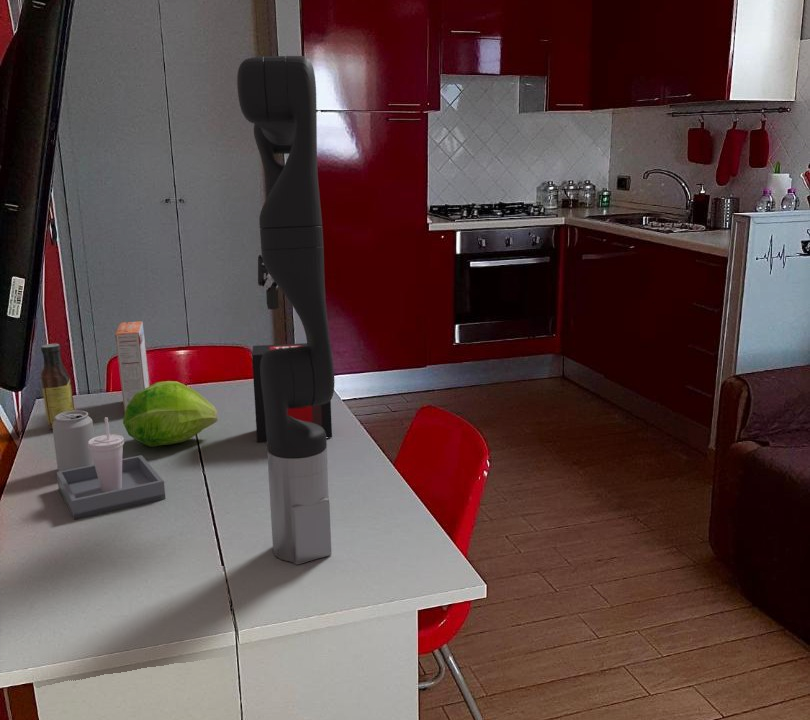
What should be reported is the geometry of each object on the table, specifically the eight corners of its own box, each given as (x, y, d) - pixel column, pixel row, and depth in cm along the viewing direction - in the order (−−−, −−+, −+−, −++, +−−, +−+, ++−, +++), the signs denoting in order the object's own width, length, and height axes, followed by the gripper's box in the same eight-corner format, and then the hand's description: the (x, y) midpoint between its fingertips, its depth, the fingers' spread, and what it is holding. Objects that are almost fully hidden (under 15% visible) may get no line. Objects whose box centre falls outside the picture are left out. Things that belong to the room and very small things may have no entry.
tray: (165, 498, 150) (163, 481, 149) (74, 519, 142) (72, 501, 141) (143, 471, 163) (141, 455, 162) (58, 488, 155) (56, 471, 154)
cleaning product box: (329, 425, 190) (326, 342, 185) (332, 437, 181) (328, 351, 176) (258, 429, 187) (253, 345, 182) (257, 442, 179) (251, 355, 174)
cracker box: (127, 400, 211) (119, 321, 206) (151, 398, 213) (144, 320, 207) (122, 416, 198) (113, 333, 193) (148, 414, 199) (140, 331, 194)
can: (84, 478, 160) (77, 421, 157) (50, 476, 161) (42, 419, 158) (105, 464, 167) (98, 409, 164) (72, 462, 168) (65, 407, 165)
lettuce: (220, 449, 175) (216, 389, 172) (122, 459, 170) (116, 397, 167) (217, 426, 189) (213, 371, 186) (127, 435, 184) (121, 378, 181)
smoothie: (122, 494, 149) (114, 423, 146) (87, 495, 149) (78, 423, 146) (134, 481, 155) (126, 412, 152) (100, 481, 156) (92, 412, 152)
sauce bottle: (82, 425, 191) (72, 344, 187) (58, 433, 186) (48, 349, 181) (65, 421, 195) (55, 341, 190) (41, 428, 190) (30, 346, 185)
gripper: (245, 224, 152) (248, 309, 156) (296, 226, 143) (299, 317, 147) (275, 223, 158) (278, 306, 161) (327, 225, 149) (328, 312, 152)
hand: (288, 311), depth 154 cm, fingers open, 8 cm apart
